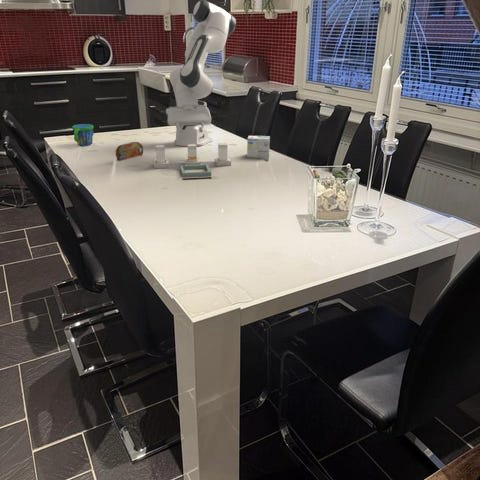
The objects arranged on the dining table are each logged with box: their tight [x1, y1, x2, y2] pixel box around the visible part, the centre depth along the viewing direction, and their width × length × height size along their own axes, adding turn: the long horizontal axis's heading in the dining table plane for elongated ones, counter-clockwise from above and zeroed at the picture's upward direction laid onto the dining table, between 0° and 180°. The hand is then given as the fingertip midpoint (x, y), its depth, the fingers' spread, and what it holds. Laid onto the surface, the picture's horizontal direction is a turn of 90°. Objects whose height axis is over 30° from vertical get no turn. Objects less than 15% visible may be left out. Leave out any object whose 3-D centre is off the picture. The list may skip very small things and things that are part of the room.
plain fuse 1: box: [155, 144, 166, 163], centre depth 206 cm, size 4×4×9 cm
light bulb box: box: [246, 135, 271, 161], centre depth 226 cm, size 11×7×11 cm, turn 84°
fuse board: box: [153, 156, 232, 170], centre depth 210 cm, size 9×34×4 cm, turn 102°
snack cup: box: [71, 123, 95, 147], centre depth 248 cm, size 16×10×10 cm
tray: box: [179, 165, 212, 181], centre depth 200 cm, size 12×12×3 cm
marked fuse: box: [186, 144, 197, 162], centre depth 209 cm, size 4×4×9 cm
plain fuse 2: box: [217, 142, 228, 161], centre depth 211 cm, size 4×4×9 cm
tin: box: [115, 141, 144, 161], centre depth 220 cm, size 15×3×8 cm, turn 143°
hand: (191, 131), depth 214 cm, fingers open, 8 cm apart
